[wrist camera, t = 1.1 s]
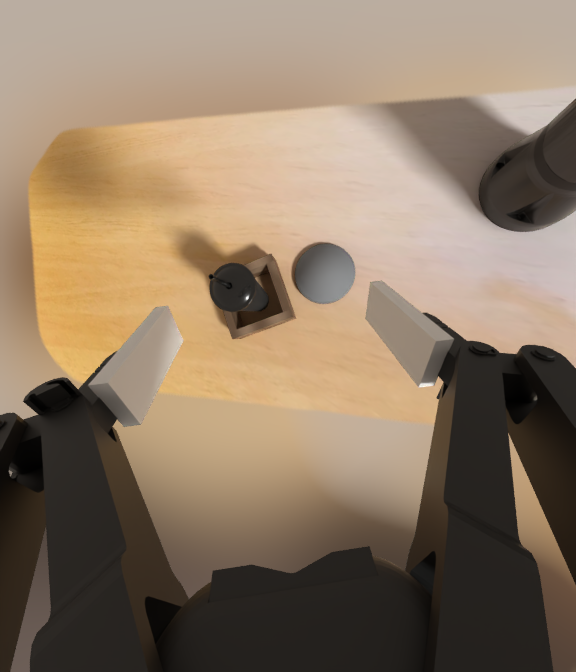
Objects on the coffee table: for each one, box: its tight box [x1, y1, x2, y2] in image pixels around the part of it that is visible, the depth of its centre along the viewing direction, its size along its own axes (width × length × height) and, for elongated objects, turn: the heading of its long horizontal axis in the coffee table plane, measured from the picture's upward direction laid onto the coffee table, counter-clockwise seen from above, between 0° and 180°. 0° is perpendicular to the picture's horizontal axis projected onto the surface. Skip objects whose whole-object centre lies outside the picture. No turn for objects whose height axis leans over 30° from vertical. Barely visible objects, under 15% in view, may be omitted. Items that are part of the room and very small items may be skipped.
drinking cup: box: [209, 263, 269, 312], centre depth 38 cm, size 8×8×20 cm
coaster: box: [295, 244, 355, 304], centre depth 45 cm, size 12×12×1 cm
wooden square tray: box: [223, 254, 296, 339], centre depth 46 cm, size 13×13×4 cm
